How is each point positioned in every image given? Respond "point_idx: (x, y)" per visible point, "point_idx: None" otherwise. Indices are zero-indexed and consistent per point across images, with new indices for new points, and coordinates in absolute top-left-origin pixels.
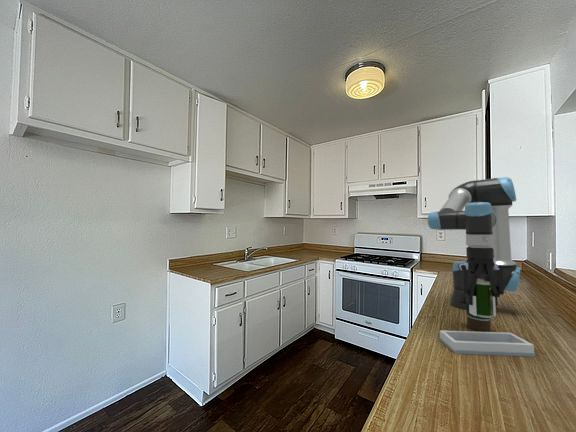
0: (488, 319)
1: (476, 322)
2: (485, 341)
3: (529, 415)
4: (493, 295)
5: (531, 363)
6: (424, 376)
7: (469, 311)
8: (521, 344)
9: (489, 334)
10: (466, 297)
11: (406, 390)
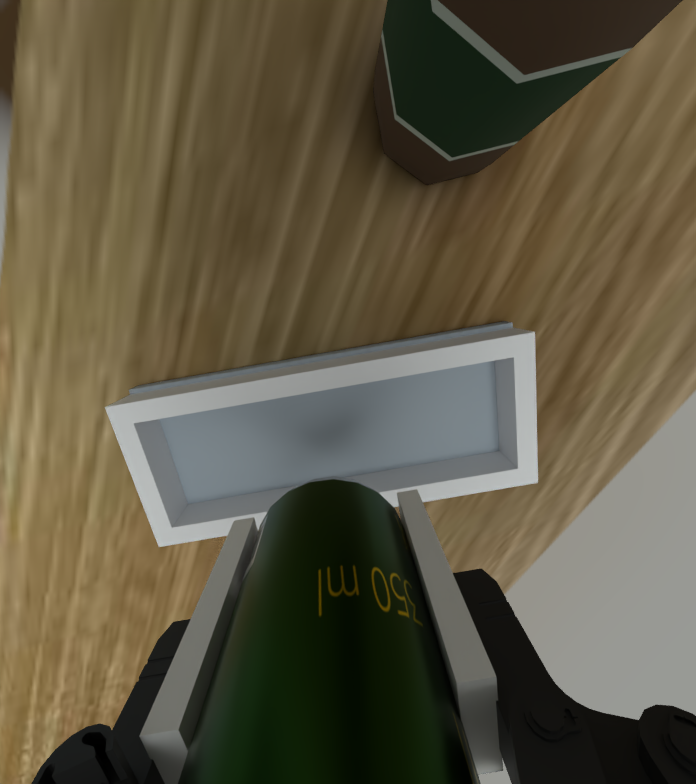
0: (513, 142)
1: (414, 149)
2: (360, 388)
3: None
4: (505, 765)
5: (454, 519)
6: (53, 685)
7: (230, 532)
8: (481, 490)
9: (395, 376)
10: (121, 716)
11: (5, 750)
